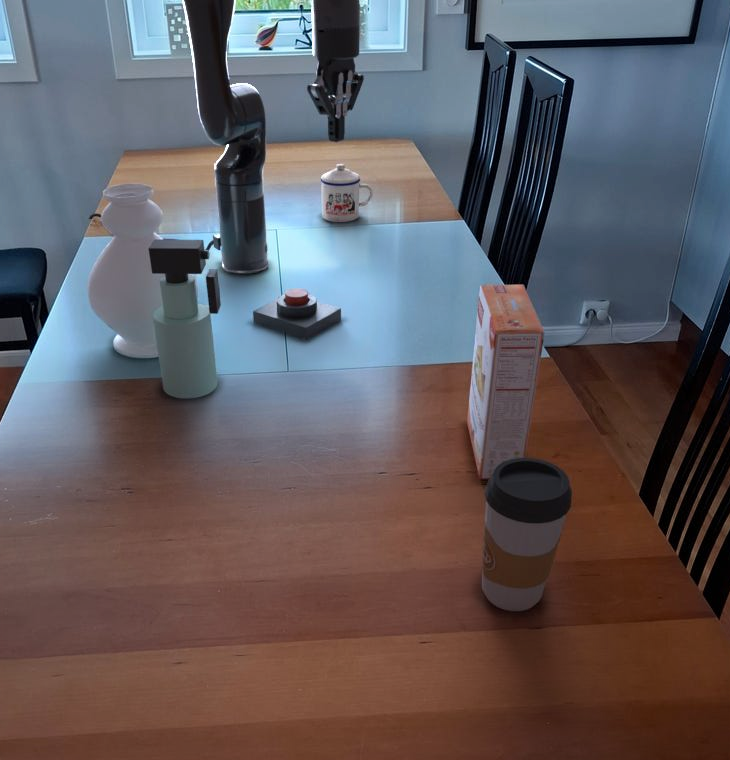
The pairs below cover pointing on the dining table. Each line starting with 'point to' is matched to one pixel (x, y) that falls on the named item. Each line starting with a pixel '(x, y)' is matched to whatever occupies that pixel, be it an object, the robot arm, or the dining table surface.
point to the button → (296, 296)
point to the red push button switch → (297, 316)
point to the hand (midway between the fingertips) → (336, 140)
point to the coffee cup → (522, 530)
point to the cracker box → (503, 375)
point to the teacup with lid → (342, 195)
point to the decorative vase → (128, 270)
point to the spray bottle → (183, 320)
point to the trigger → (213, 291)
